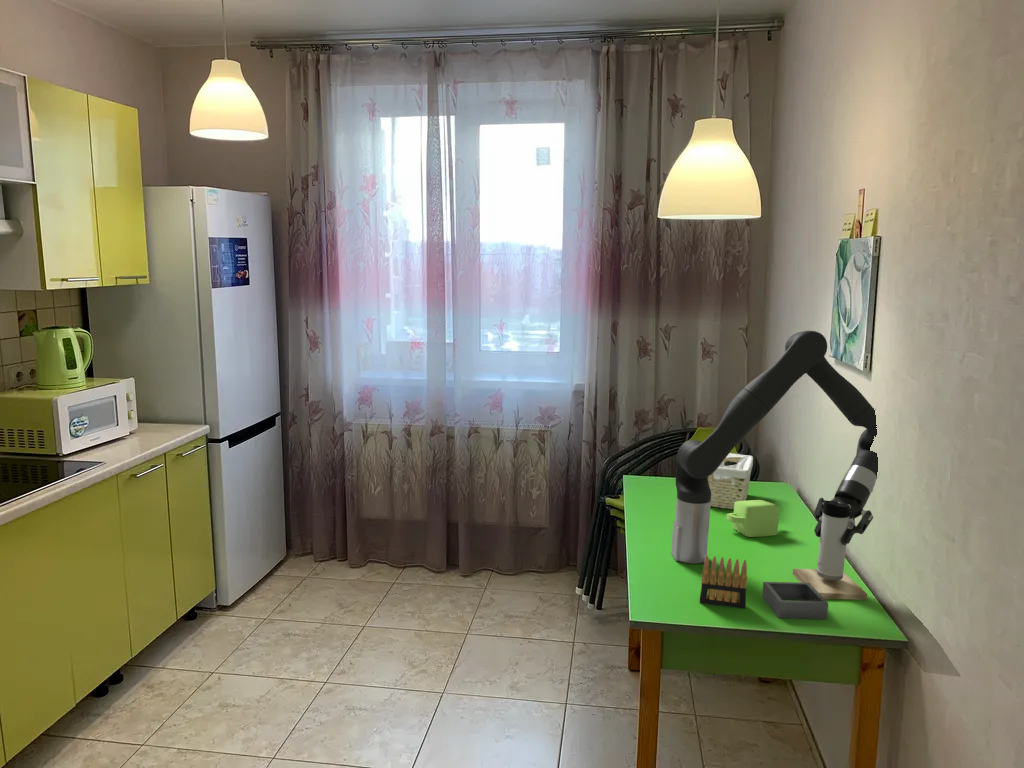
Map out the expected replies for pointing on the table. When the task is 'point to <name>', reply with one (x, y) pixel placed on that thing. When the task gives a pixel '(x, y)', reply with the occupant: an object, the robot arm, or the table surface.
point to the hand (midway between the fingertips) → (830, 539)
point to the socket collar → (794, 609)
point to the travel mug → (832, 540)
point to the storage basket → (731, 481)
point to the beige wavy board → (831, 585)
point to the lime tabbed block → (755, 518)
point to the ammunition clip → (724, 584)
